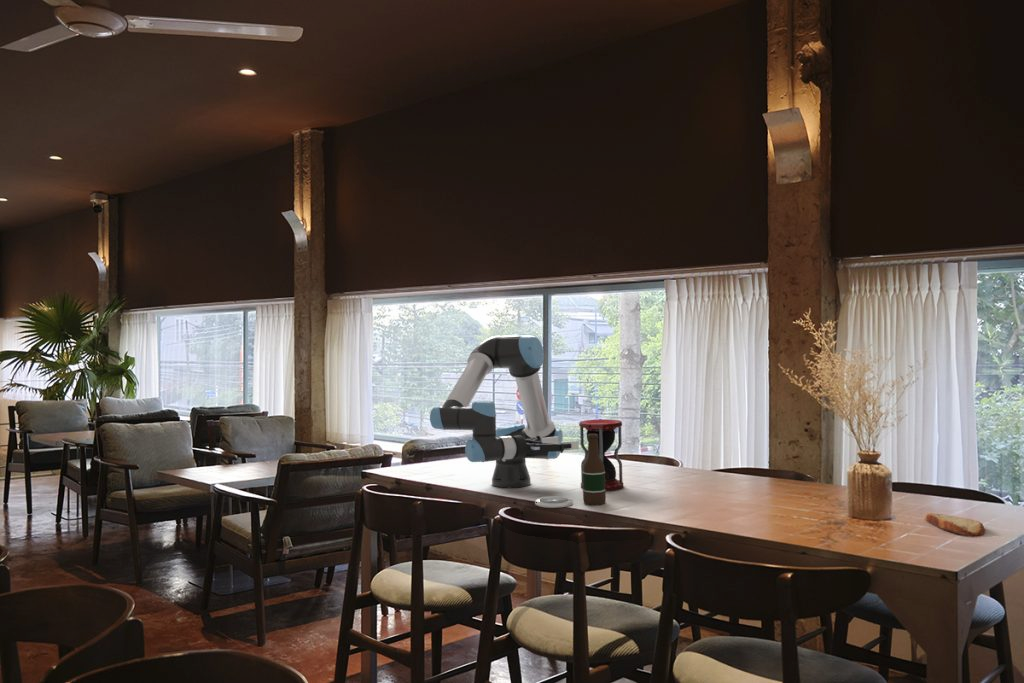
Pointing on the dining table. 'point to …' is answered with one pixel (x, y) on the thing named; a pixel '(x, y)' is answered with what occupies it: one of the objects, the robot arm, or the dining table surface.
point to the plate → (554, 502)
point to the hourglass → (604, 448)
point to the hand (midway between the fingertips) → (567, 442)
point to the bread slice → (956, 524)
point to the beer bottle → (593, 474)
